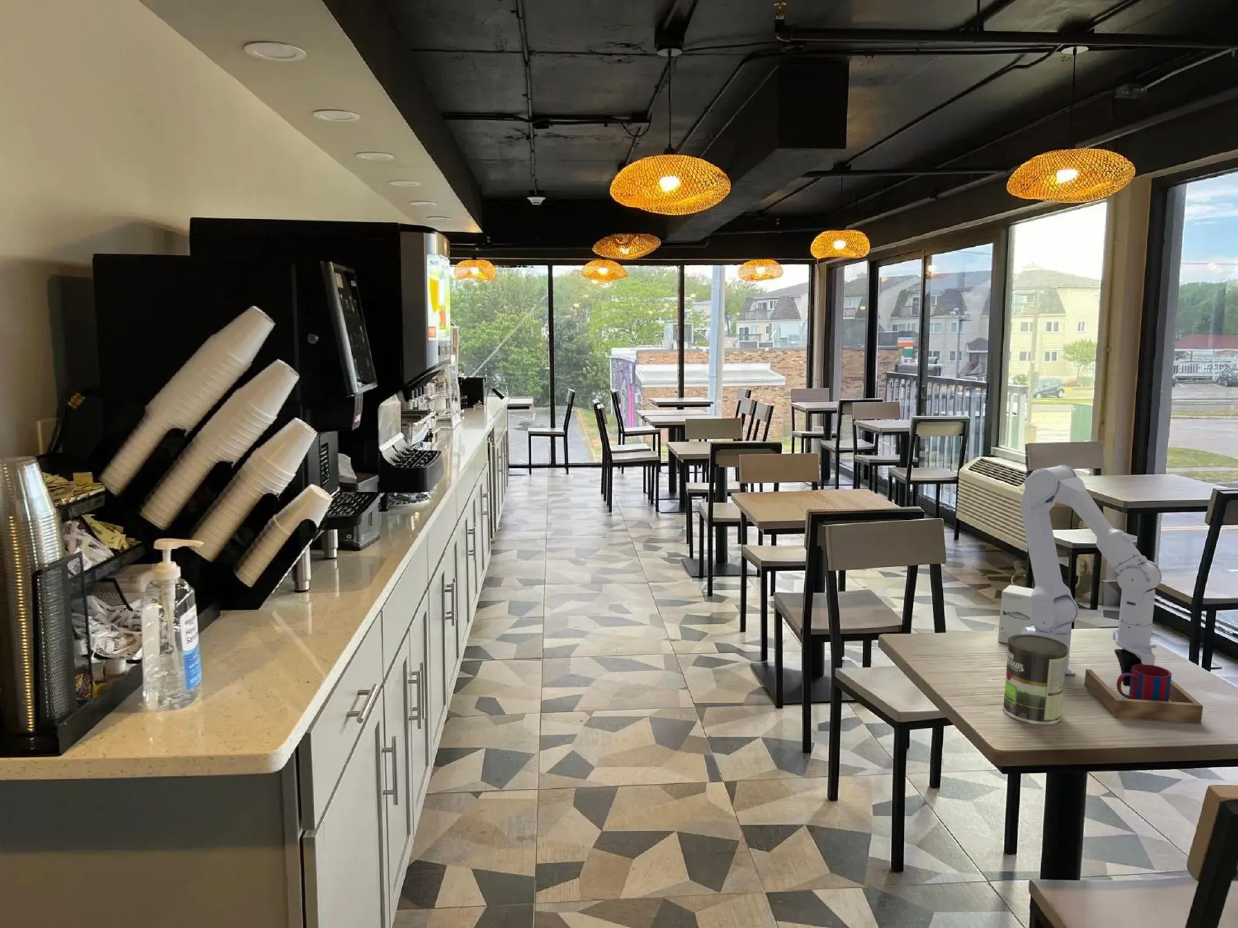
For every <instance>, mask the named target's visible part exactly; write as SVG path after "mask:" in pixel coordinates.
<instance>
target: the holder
mask: <svg viewBox="0 0 1238 928" xmlns="http://www.w3.org/2000/svg"><path fill="white" fill-rule="evenodd" d="M1084 674H1085V675H1084V687H1085V688H1086V689H1088V691H1089V692H1090V693H1091V694H1092V695H1093V696H1094V697H1095V698H1096V700H1098V702H1100V704H1101V705H1102V706H1103V707H1104V708H1105V709H1106V710H1107V711H1108V712H1109V713H1110V714H1111V715H1112V717H1114V718H1115V719H1125V720H1126V719H1129V720H1142V721H1144V720H1145V721H1157V722H1172V723H1173V722H1174V723H1175V722H1176V723H1185V724H1186V723H1189V724H1191V723H1192V724H1202V717H1203V709H1204V706H1203V704H1201V703H1200V702H1199V701H1198V700H1197V699H1196V698H1195V697H1193V696H1192V695H1191V694H1190V693H1189V692H1188V691H1186V690H1184V689H1183V688H1182V687H1181V686H1180V685H1179V684H1178V683H1176V682H1175V681H1174V680H1173V679H1171V685H1170V695H1169V702H1167V701H1151V700H1135V699H1128V698H1121V697H1119V695H1117V694H1116V693H1115V692H1114V691H1113V690H1112V689H1111V688H1110V687H1109V686H1108V685H1107V683H1105V682H1104V680H1102V679H1101V677H1099V675H1097V674H1096V673H1095V672H1094V671H1093V670H1092V669H1091V668H1090V669H1089V668H1087V669H1085V673H1084Z"/></svg>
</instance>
